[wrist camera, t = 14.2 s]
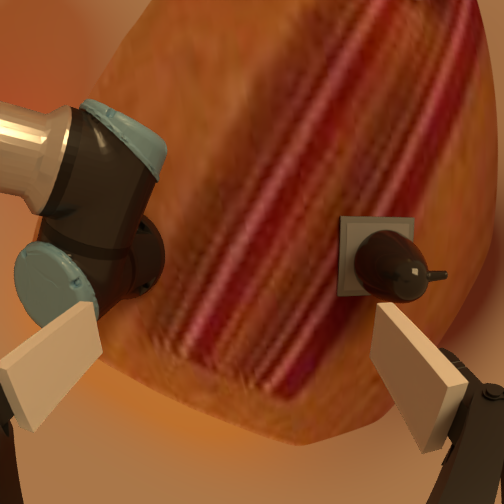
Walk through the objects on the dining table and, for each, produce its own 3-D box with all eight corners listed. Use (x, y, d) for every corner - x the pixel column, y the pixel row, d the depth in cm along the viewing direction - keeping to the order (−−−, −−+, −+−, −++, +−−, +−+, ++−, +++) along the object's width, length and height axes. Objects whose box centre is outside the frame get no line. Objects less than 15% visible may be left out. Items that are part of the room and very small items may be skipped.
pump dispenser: (406, 280, 50) (451, 314, 35) (350, 292, 50) (380, 333, 36) (402, 221, 48) (451, 237, 33) (343, 231, 48) (376, 251, 34)
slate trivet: (336, 295, 51) (337, 296, 51) (340, 216, 49) (341, 216, 48) (406, 292, 51) (408, 293, 50) (412, 217, 48) (414, 217, 47)
